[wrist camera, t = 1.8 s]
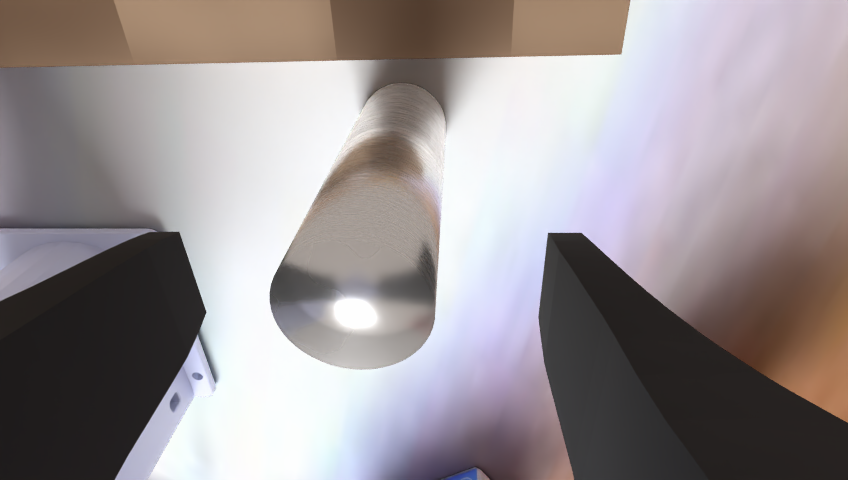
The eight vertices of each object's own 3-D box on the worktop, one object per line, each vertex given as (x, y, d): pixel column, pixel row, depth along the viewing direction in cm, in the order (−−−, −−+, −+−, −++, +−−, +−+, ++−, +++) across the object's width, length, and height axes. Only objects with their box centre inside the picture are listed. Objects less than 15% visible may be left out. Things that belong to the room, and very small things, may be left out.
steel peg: (446, 165, 18) (436, 371, 10) (364, 166, 18) (285, 367, 10) (445, 81, 17) (433, 240, 8) (356, 83, 17) (254, 239, 8)
